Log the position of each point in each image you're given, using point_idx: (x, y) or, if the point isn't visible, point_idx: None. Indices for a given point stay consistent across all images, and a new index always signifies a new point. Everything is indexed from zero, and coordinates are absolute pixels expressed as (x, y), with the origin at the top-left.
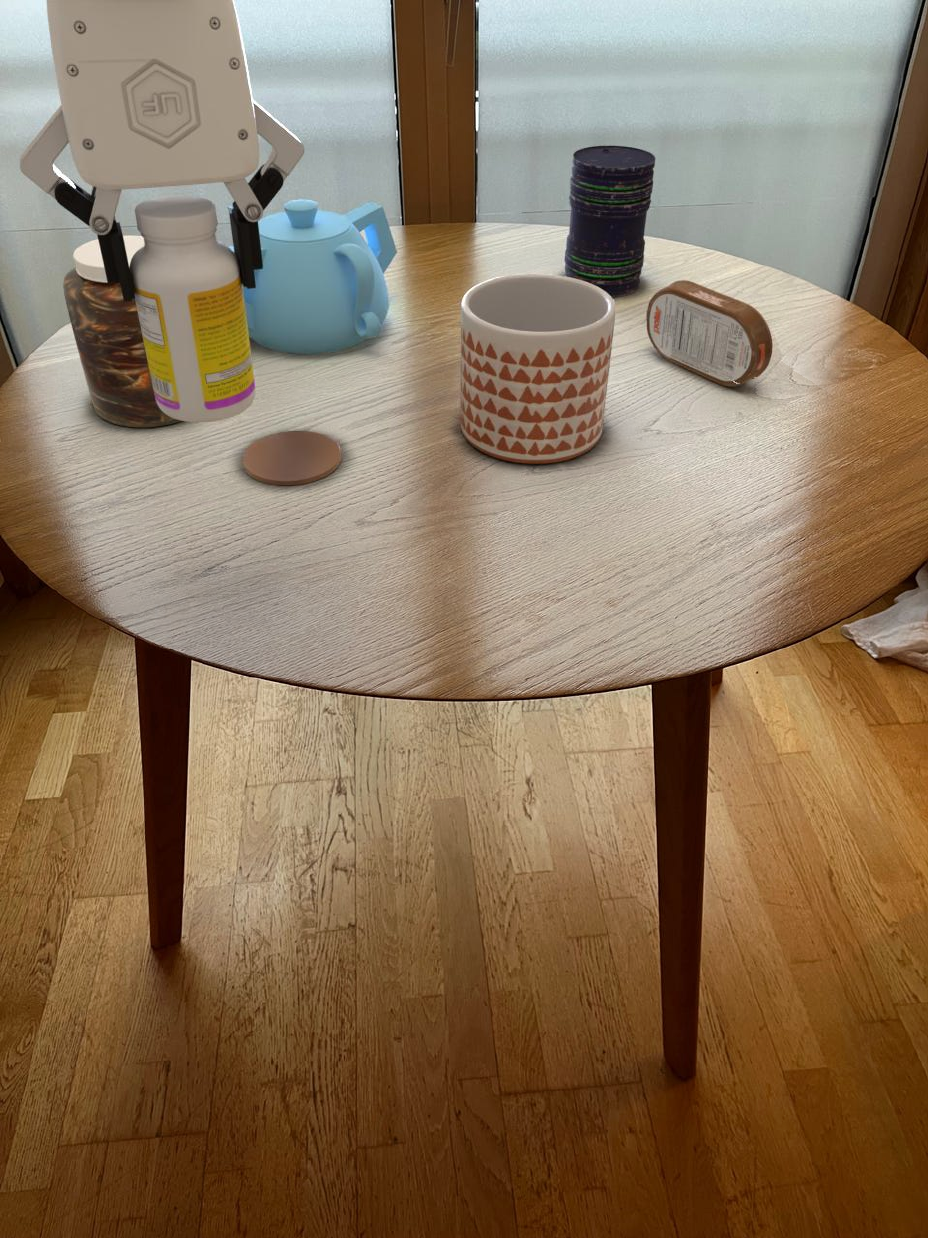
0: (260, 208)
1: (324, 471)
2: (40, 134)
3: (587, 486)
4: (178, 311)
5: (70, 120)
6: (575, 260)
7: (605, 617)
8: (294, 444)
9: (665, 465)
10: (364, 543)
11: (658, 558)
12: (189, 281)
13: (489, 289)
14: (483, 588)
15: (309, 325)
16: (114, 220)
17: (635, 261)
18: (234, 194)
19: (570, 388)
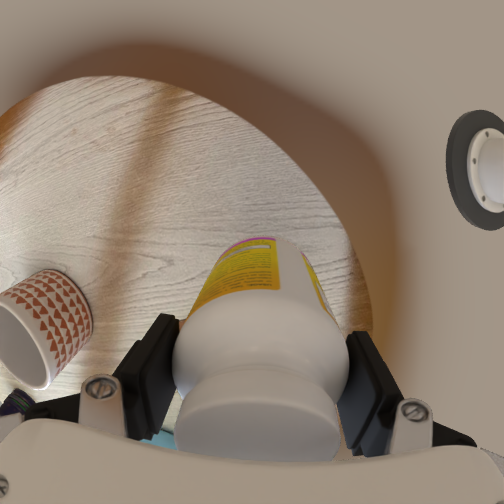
0: (85, 386)
1: (179, 323)
2: None
3: (47, 241)
4: (296, 285)
5: None
6: None
7: (81, 121)
8: None
9: (16, 243)
10: (174, 238)
11: (42, 162)
12: (273, 299)
13: (38, 384)
14: (123, 165)
15: (159, 441)
16: (384, 426)
17: (9, 397)
18: (117, 423)
19: (20, 285)
